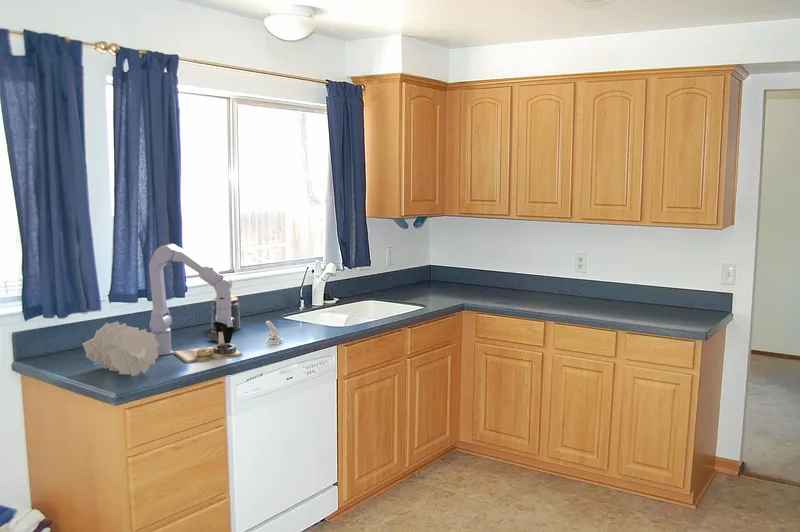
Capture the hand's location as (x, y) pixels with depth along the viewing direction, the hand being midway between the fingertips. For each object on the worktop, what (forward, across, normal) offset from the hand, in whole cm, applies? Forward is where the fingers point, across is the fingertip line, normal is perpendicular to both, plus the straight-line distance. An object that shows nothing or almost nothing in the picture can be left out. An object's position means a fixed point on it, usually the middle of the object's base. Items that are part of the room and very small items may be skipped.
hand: (224, 341), depth 279 cm
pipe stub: (+4, 0, 0) cm, 4 cm away
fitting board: (+5, +2, +6) cm, 8 cm away
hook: (+6, +8, -25) cm, 27 cm away
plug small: (+5, -2, +9) cm, 11 cm away
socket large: (+5, 0, 0) cm, 5 cm away
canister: (+6, +43, -16) cm, 46 cm away
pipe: (+6, +19, -5) cm, 21 cm away
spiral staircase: (+6, -5, +40) cm, 41 cm away
